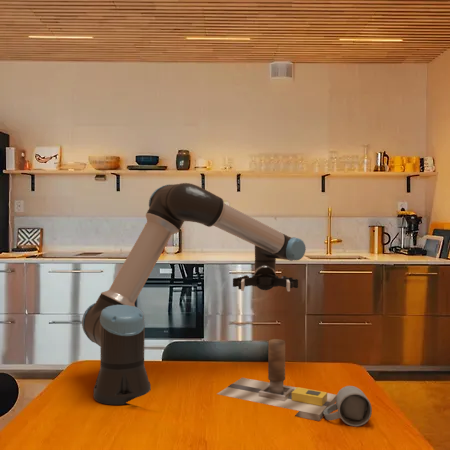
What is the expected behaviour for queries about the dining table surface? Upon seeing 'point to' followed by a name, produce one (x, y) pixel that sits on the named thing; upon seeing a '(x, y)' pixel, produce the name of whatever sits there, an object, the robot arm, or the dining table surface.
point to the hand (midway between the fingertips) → (265, 286)
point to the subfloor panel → (276, 397)
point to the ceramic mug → (350, 407)
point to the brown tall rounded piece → (276, 365)
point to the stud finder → (309, 396)
